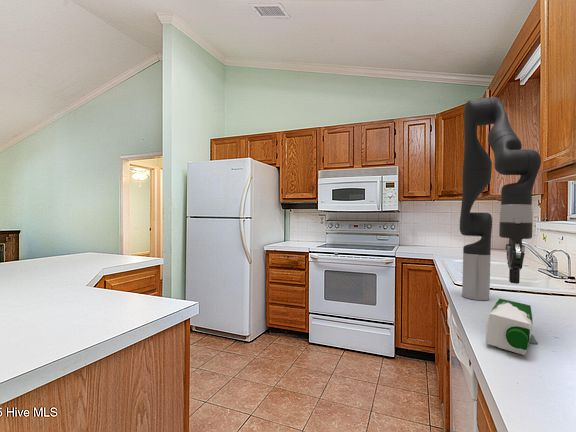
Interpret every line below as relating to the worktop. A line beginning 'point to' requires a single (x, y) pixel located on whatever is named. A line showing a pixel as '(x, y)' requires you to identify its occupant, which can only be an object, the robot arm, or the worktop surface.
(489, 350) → the worktop surface
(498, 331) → the soya milk
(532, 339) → the rubber pad
